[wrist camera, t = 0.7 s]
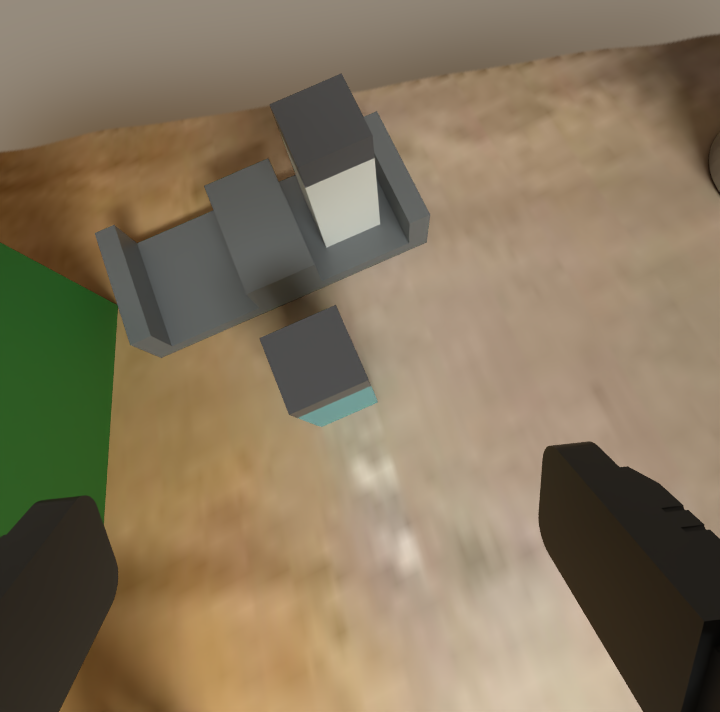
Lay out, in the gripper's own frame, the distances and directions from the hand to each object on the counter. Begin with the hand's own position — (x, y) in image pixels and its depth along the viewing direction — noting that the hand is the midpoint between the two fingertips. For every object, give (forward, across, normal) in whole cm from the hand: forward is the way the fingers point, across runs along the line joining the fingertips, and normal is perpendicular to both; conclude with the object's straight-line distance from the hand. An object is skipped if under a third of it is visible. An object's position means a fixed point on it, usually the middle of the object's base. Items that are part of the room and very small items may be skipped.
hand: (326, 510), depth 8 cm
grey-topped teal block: (+24, 0, +9) cm, 26 cm away
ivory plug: (+30, -2, -3) cm, 30 cm away
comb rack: (+31, +4, 0) cm, 31 cm away
